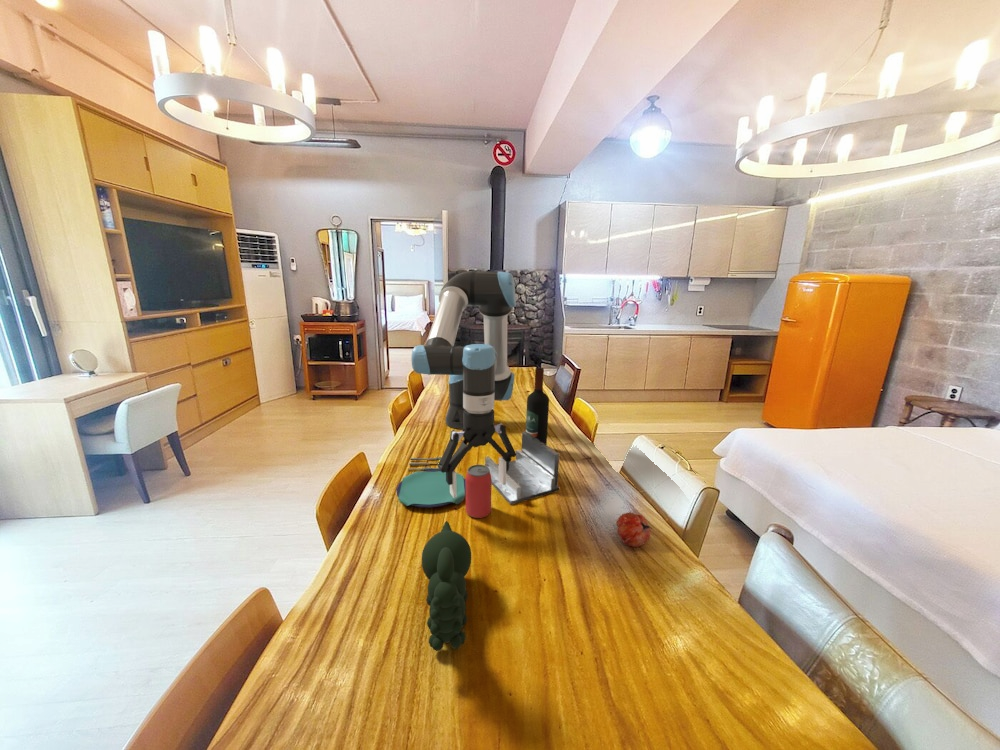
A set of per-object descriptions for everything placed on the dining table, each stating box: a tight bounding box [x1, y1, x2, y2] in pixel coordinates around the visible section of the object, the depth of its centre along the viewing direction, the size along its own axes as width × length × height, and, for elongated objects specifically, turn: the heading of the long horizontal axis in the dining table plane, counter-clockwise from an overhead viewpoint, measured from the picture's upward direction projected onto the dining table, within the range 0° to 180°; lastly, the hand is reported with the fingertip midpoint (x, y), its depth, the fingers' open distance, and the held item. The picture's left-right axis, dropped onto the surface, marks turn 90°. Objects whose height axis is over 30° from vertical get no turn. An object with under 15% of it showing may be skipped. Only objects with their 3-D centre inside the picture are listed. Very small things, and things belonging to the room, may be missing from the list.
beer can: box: [464, 464, 492, 519], centre depth 94 cm, size 7×7×12 cm
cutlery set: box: [396, 456, 466, 509], centre depth 110 cm, size 20×30×2 cm, turn 8°
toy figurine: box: [421, 520, 472, 652], centre depth 66 cm, size 9×19×25 cm
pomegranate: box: [615, 511, 653, 548], centre depth 85 cm, size 7×7×10 cm
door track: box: [484, 431, 560, 506], centre depth 110 cm, size 20×16×11 cm
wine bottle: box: [525, 367, 550, 446], centre depth 128 cm, size 8×8×30 cm
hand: (478, 488), depth 94 cm, fingers open, 13 cm apart
